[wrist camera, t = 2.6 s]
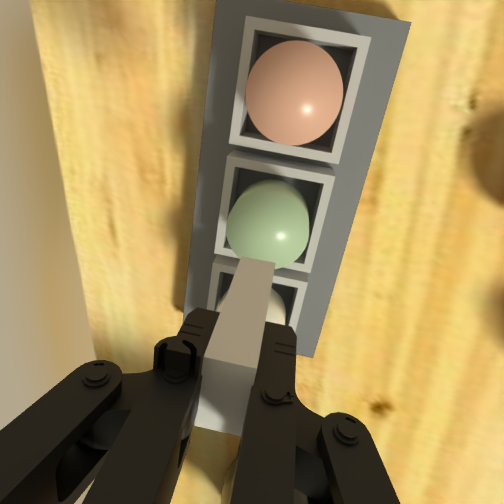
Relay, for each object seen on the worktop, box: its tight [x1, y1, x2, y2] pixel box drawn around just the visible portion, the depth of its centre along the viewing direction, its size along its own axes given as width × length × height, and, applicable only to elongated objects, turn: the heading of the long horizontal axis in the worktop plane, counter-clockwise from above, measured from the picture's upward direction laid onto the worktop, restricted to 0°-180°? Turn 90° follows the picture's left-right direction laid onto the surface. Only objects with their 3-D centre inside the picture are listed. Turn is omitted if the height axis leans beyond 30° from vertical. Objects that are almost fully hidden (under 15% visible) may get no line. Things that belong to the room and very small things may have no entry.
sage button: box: [226, 179, 309, 269], centre depth 25 cm, size 5×5×3 cm
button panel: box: [182, 0, 412, 358], centre depth 28 cm, size 26×12×4 cm, turn 171°
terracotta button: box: [245, 40, 343, 145], centre depth 22 cm, size 5×5×3 cm
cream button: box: [217, 288, 286, 325], centre depth 29 cm, size 5×5×3 cm
